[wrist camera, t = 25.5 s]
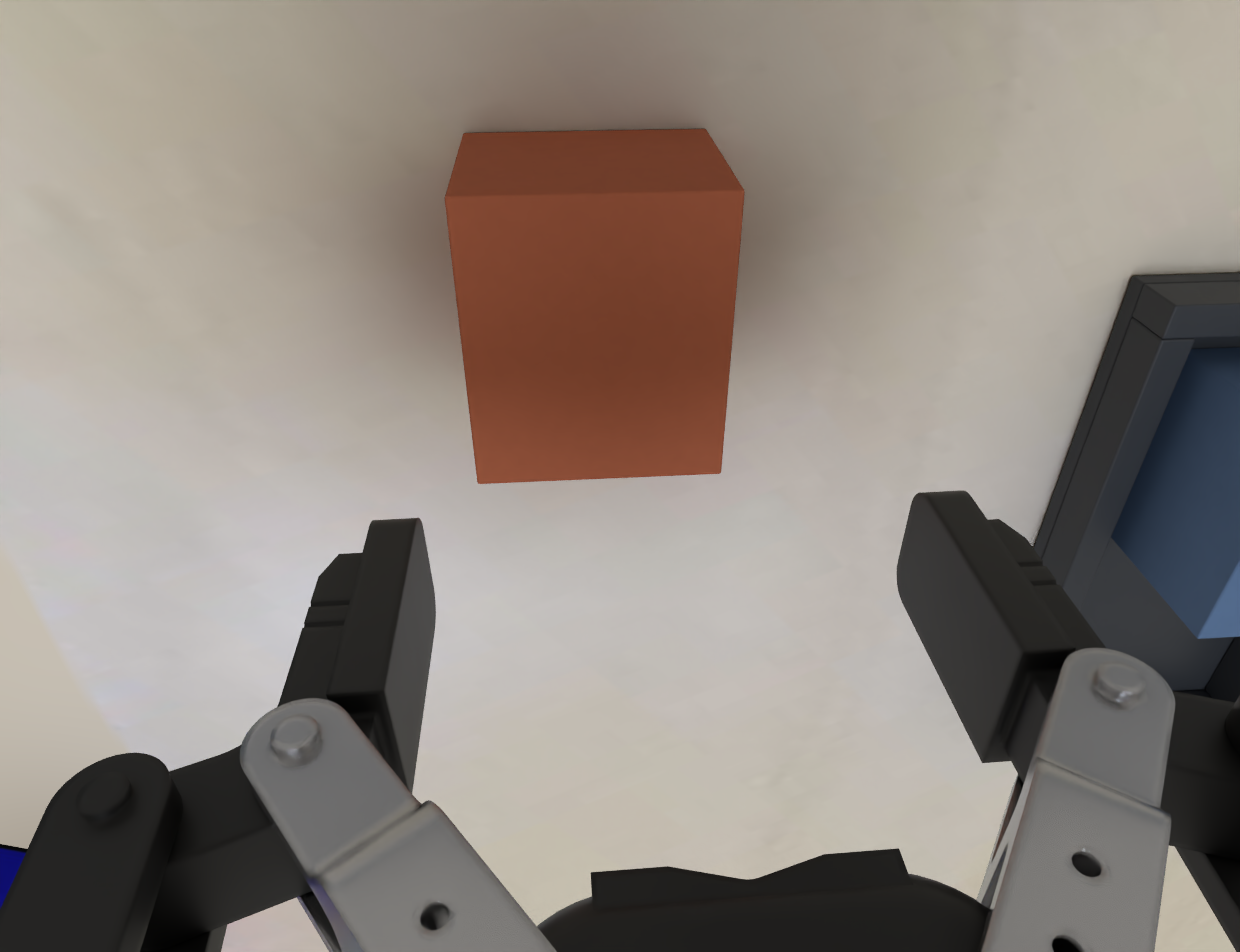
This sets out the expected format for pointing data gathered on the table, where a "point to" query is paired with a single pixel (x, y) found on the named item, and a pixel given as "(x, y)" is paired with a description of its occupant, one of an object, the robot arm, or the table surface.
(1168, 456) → the matte blue cube
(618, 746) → the table surface
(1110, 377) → the frame
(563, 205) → the matte reddish brown block
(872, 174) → the table surface
